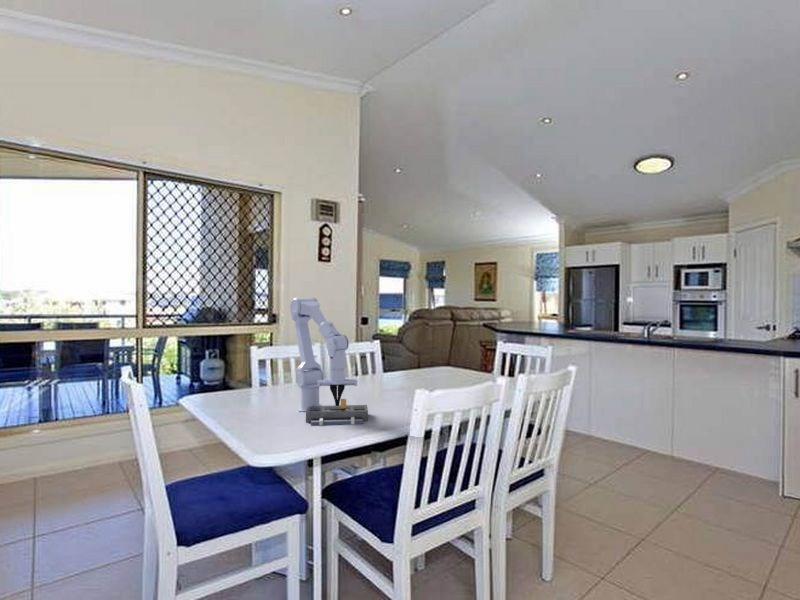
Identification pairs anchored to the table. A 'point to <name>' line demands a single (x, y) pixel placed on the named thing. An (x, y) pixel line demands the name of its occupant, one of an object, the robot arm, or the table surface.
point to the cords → (336, 421)
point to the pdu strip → (337, 412)
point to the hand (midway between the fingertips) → (337, 405)
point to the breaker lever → (343, 403)
